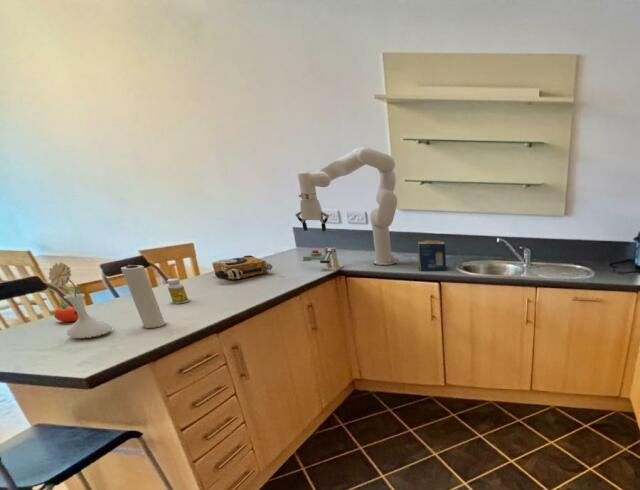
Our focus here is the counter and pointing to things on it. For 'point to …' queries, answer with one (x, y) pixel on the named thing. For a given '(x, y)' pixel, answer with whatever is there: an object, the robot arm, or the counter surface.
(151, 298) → the paper towel roll
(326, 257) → the lever
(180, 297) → the supplement bottle
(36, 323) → the counter surface
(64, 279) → the flower in vase
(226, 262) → the device
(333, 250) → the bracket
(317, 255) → the button box
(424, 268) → the protein box
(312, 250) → the button
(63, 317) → the tomato
